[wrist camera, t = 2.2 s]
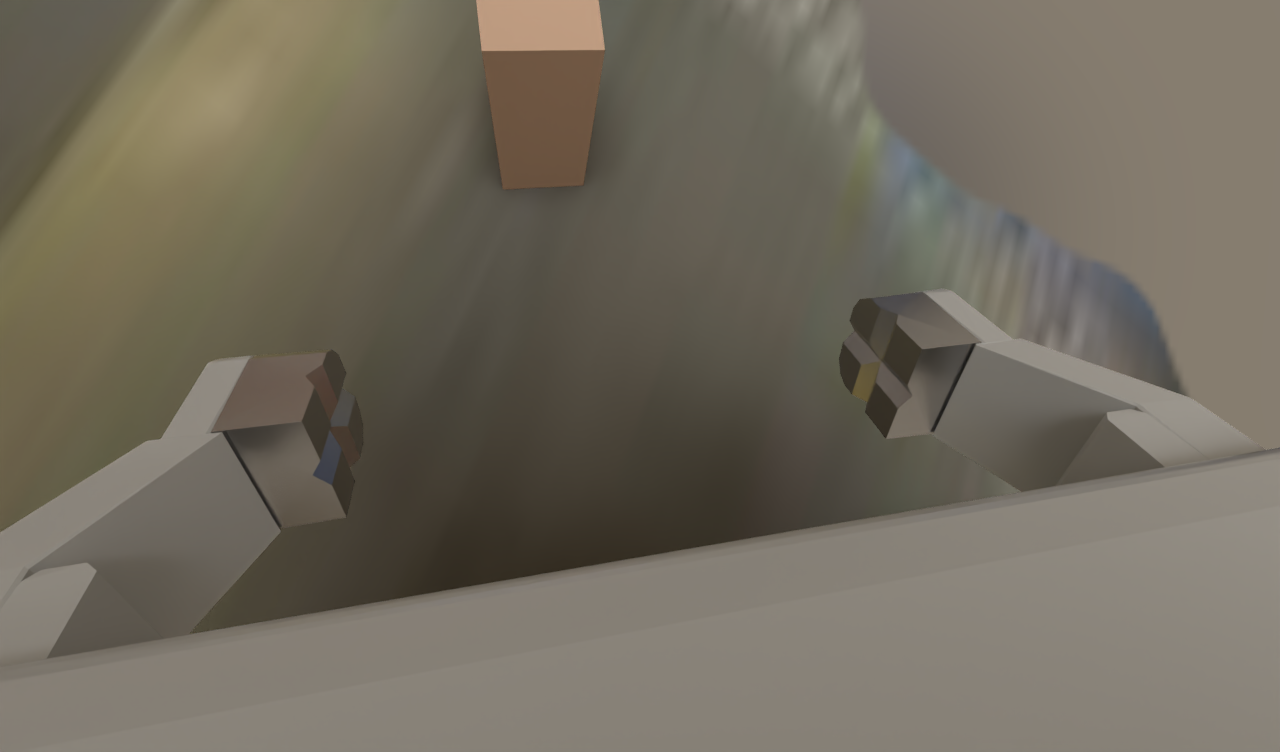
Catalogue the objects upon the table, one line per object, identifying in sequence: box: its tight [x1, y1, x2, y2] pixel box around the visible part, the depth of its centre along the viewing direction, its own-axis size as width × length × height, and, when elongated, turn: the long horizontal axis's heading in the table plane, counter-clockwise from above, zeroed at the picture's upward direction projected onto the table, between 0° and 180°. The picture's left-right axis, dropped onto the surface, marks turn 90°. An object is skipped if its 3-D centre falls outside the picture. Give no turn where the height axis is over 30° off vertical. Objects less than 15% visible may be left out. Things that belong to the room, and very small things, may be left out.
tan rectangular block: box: [476, 0, 605, 189], centre depth 21 cm, size 4×5×9 cm
